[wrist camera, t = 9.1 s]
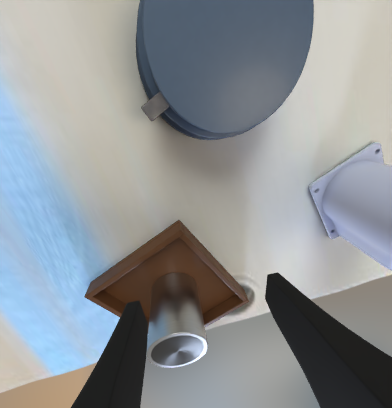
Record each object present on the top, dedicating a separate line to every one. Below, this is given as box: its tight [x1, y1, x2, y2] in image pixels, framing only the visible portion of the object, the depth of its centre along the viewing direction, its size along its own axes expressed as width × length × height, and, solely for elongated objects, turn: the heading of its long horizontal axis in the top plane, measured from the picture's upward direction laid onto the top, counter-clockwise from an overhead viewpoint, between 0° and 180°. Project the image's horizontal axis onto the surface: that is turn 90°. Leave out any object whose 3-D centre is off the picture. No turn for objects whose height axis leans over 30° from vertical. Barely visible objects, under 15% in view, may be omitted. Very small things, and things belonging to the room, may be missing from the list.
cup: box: [147, 273, 208, 368], centre depth 20 cm, size 6×6×7 cm
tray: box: [84, 220, 249, 328], centre depth 23 cm, size 15×13×2 cm
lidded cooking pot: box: [136, 0, 314, 140], centre depth 12 cm, size 11×12×5 cm
